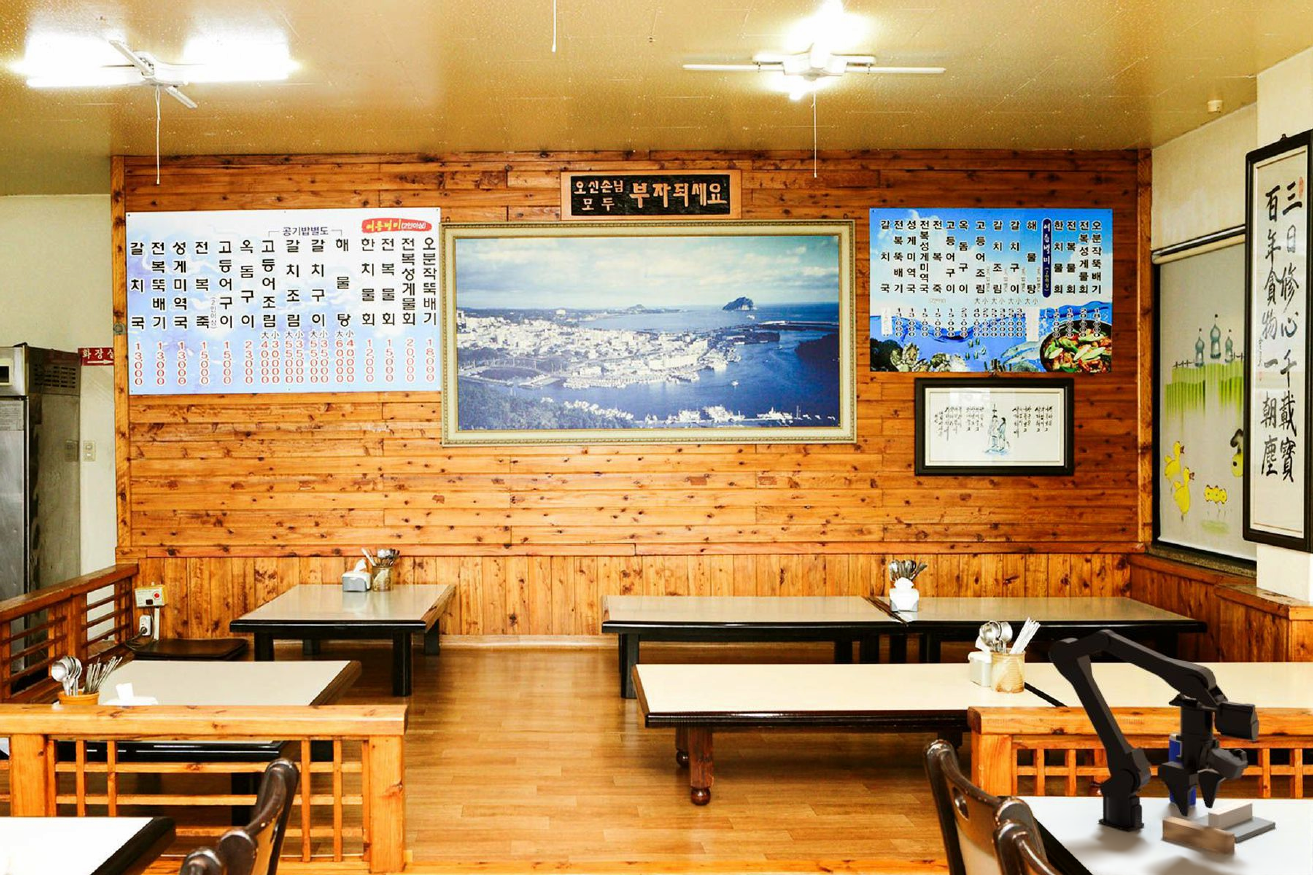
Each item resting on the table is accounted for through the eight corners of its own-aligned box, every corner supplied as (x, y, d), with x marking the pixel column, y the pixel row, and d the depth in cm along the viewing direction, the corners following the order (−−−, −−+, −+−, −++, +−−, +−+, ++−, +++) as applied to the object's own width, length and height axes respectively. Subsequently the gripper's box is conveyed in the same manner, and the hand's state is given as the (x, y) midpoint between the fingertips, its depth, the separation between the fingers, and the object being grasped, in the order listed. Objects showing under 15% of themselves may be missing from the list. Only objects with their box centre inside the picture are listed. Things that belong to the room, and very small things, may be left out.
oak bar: (1162, 837, 199) (1162, 819, 199) (1170, 833, 201) (1170, 816, 201) (1226, 855, 189) (1226, 837, 190) (1234, 851, 192) (1234, 833, 192)
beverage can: (1199, 809, 216) (1198, 739, 216) (1173, 807, 217) (1173, 737, 217) (1191, 801, 221) (1191, 733, 221) (1166, 799, 222) (1165, 731, 222)
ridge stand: (1185, 827, 204) (1185, 807, 204) (1225, 813, 213) (1224, 794, 213) (1236, 842, 196) (1236, 821, 196) (1275, 826, 205) (1275, 807, 205)
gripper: (1214, 747, 184) (1215, 833, 184) (1263, 734, 195) (1263, 815, 194) (1155, 734, 193) (1155, 815, 193) (1205, 722, 204) (1205, 799, 203)
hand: (1196, 811), depth 196 cm, fingers open, 9 cm apart
